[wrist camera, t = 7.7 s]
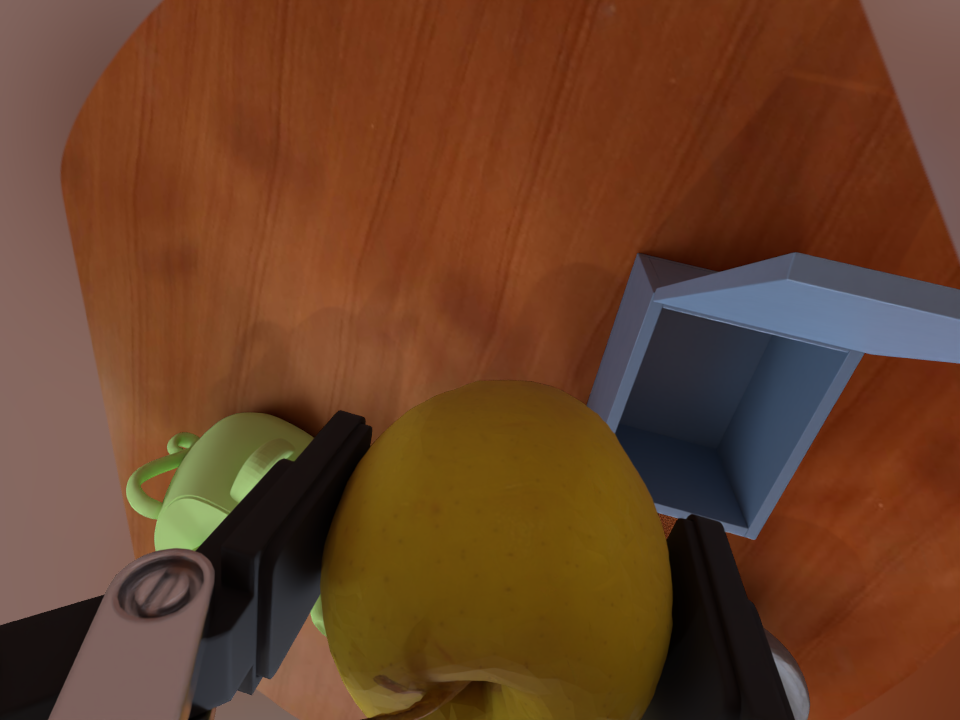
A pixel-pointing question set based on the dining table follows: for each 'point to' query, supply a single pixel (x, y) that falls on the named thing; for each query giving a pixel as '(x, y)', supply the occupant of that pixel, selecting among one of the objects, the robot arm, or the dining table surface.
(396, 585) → the apple
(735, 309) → the lid
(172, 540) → the teapot
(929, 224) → the dining table surface
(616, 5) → the dining table surface
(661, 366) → the chest
